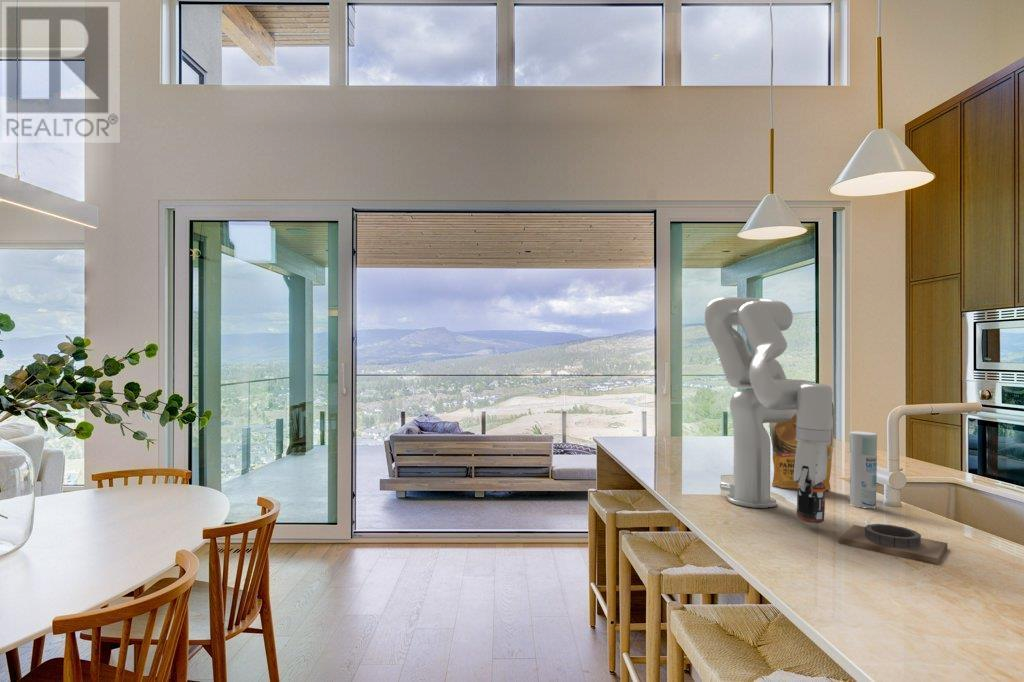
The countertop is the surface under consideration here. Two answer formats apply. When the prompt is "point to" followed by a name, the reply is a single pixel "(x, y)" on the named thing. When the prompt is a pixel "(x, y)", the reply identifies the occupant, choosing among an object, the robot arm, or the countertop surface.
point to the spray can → (863, 468)
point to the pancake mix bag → (792, 453)
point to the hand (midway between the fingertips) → (810, 509)
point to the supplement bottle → (818, 505)
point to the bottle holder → (894, 542)
